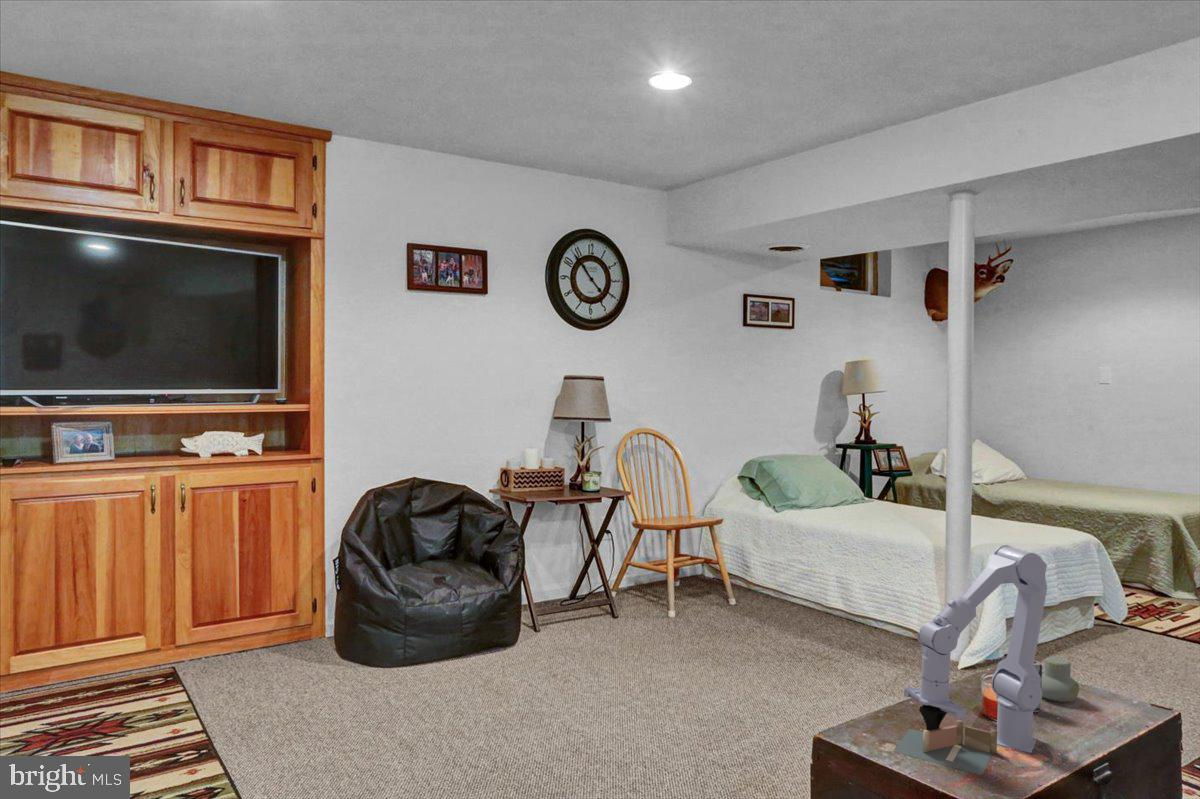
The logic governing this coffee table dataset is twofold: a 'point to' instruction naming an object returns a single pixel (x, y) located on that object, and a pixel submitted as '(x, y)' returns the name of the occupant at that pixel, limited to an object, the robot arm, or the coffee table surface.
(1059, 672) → the grey l-shaped piece
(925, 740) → the fence panel
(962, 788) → the coffee table surface
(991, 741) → the fence frame
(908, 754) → the card
